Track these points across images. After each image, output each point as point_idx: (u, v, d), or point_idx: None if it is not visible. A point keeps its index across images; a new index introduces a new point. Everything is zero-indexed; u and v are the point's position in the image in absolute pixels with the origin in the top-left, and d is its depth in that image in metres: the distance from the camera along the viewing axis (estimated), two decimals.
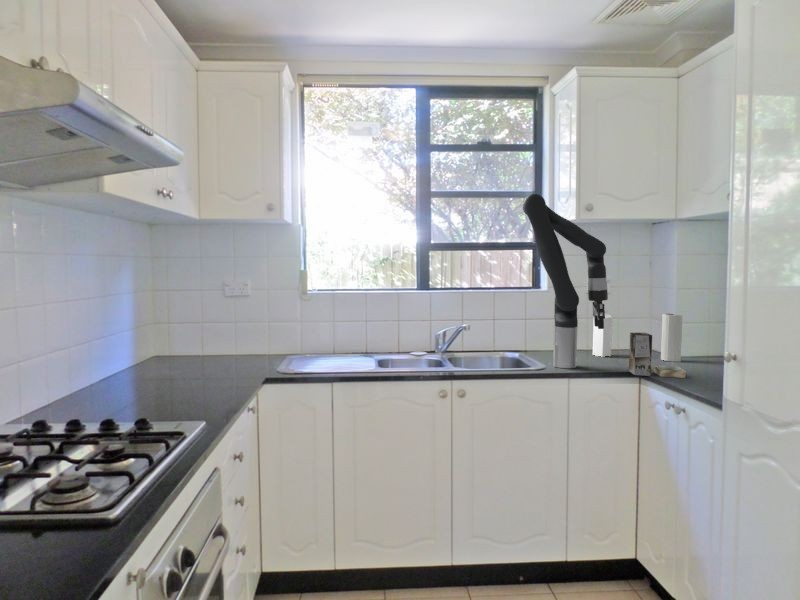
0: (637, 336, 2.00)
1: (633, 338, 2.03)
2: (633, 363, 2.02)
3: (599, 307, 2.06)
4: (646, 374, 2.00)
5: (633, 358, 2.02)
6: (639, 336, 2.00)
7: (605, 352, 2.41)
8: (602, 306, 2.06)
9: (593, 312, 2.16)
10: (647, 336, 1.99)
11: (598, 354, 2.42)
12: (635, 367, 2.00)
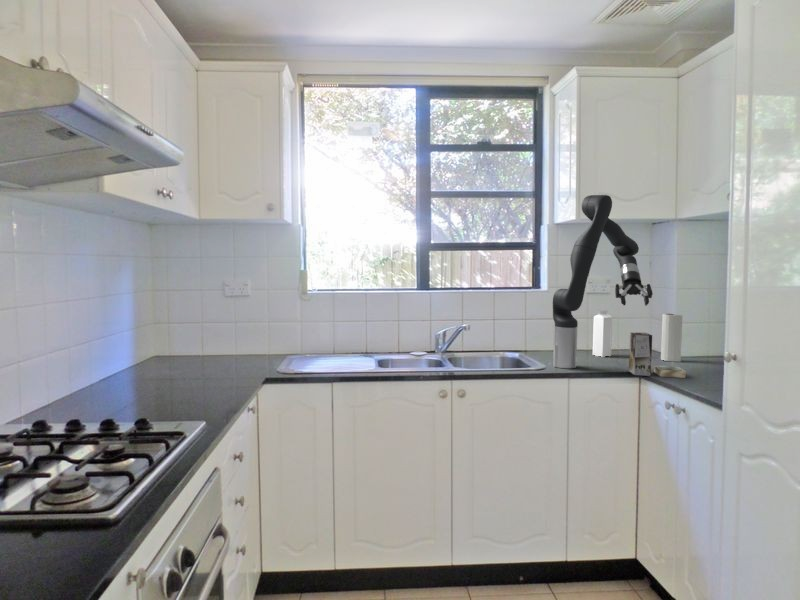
0: (637, 336, 2.00)
1: (633, 338, 2.03)
2: (633, 363, 2.02)
3: None
4: (646, 374, 2.00)
5: (633, 358, 2.02)
6: (639, 336, 2.00)
7: (605, 352, 2.41)
8: None
9: (627, 290, 2.17)
10: (647, 336, 1.99)
11: (598, 354, 2.42)
12: (635, 367, 2.00)
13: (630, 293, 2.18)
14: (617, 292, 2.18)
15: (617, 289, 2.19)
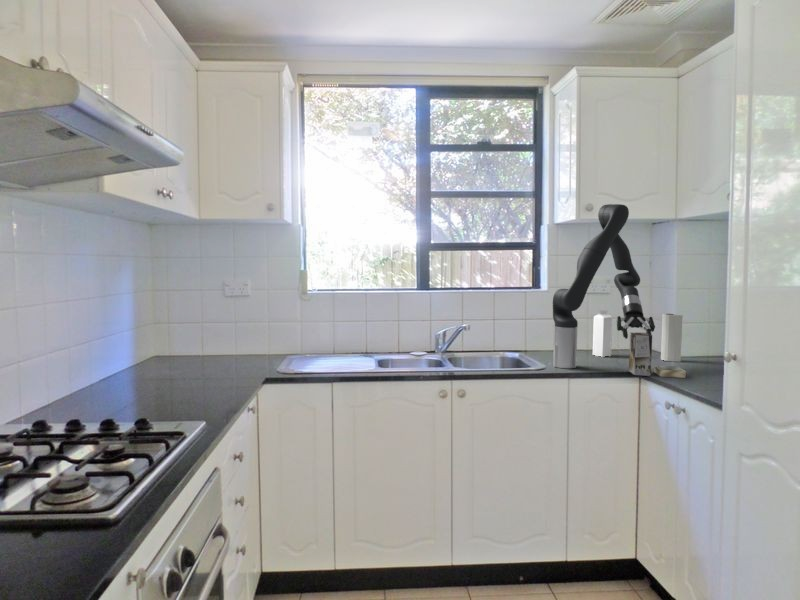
0: (637, 336, 2.00)
1: (633, 338, 2.03)
2: (633, 363, 2.02)
3: None
4: (646, 374, 2.00)
5: (633, 358, 2.02)
6: (639, 336, 2.00)
7: (605, 352, 2.41)
8: None
9: (629, 323, 2.12)
10: (647, 336, 1.99)
11: (598, 354, 2.42)
12: (635, 367, 2.00)
13: (632, 326, 2.13)
14: (619, 325, 2.13)
15: (619, 321, 2.14)
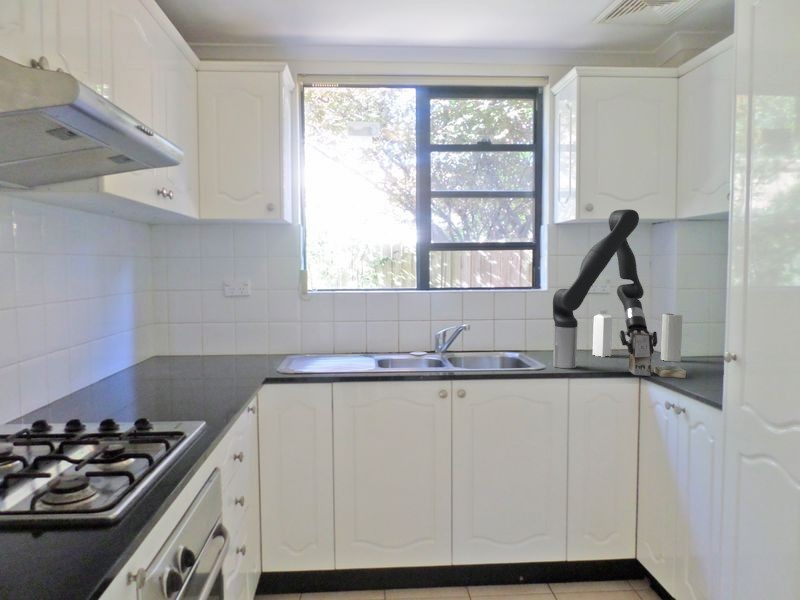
0: (637, 336, 2.00)
1: (633, 338, 2.03)
2: (633, 363, 2.02)
3: None
4: (646, 374, 2.00)
5: (633, 358, 2.02)
6: (639, 336, 1.99)
7: (605, 352, 2.41)
8: None
9: None
10: (647, 336, 1.99)
11: (598, 354, 2.42)
12: (635, 367, 2.00)
13: None
14: (624, 339, 2.06)
15: (623, 336, 2.07)
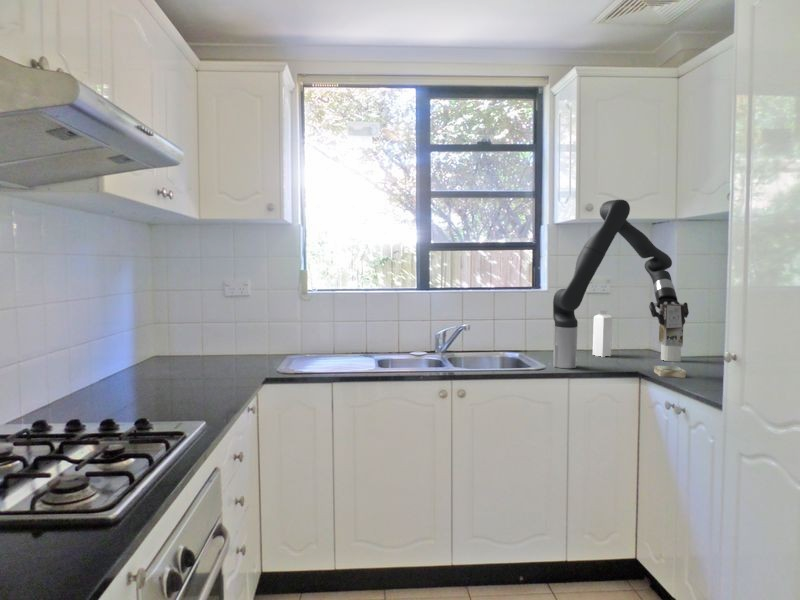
0: (669, 306, 1.97)
1: (664, 309, 2.00)
2: (664, 334, 1.99)
3: None
4: (678, 345, 1.97)
5: (664, 329, 1.99)
6: (671, 306, 1.97)
7: (605, 352, 2.41)
8: None
9: None
10: (679, 306, 1.96)
11: (598, 354, 2.42)
12: (667, 338, 1.98)
13: None
14: (654, 311, 2.03)
15: (653, 307, 2.04)
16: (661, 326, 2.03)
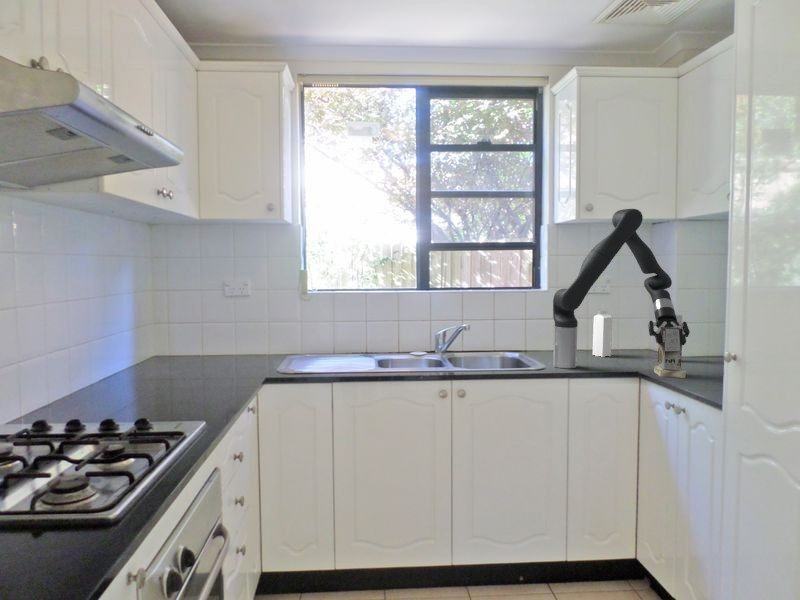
0: (667, 330, 1.97)
1: (663, 332, 2.00)
2: (663, 357, 2.00)
3: None
4: (676, 368, 1.97)
5: (663, 352, 2.00)
6: (669, 330, 1.97)
7: (605, 352, 2.41)
8: None
9: None
10: (677, 330, 1.97)
11: (598, 354, 2.42)
12: (665, 361, 1.98)
13: None
14: (651, 330, 2.04)
15: (651, 326, 2.05)
16: (660, 349, 2.04)
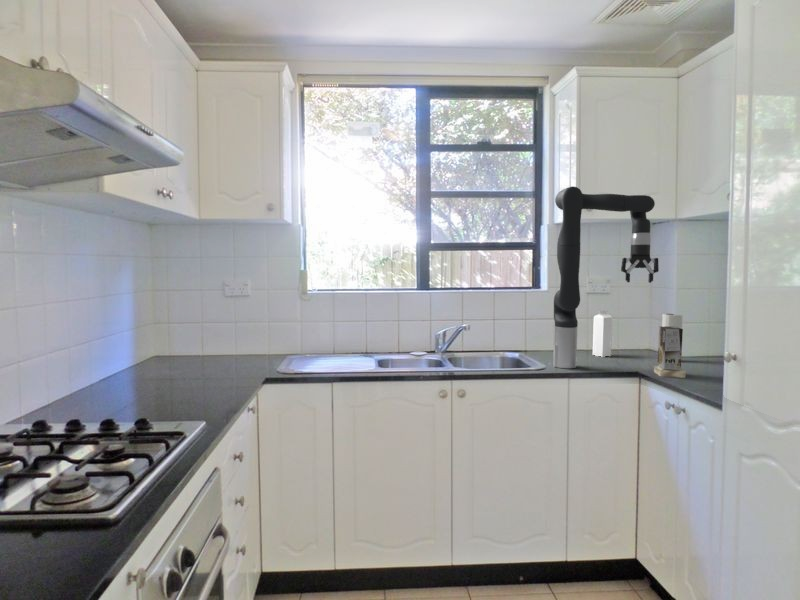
0: (667, 330, 1.97)
1: (663, 332, 2.00)
2: (663, 357, 2.00)
3: None
4: (676, 368, 1.97)
5: (663, 352, 2.00)
6: (669, 330, 1.97)
7: (605, 352, 2.41)
8: None
9: (633, 267, 2.15)
10: (677, 330, 1.97)
11: (598, 354, 2.42)
12: (665, 361, 1.98)
13: (636, 267, 2.16)
14: (623, 269, 2.16)
15: (624, 265, 2.16)
16: (660, 349, 2.04)
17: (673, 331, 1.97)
